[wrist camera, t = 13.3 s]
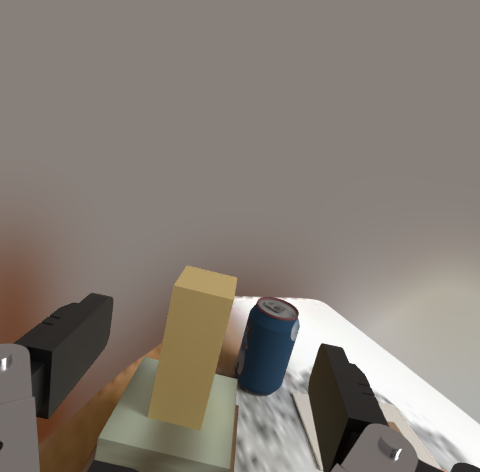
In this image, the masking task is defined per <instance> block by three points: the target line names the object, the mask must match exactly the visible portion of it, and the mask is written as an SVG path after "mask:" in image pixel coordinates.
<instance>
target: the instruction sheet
mask: <svg viewBox="0 0 480 472" xmlns="http://www.w3.org/2000/svg"><path fill="white" fill-rule="evenodd" d="M292 396H293V398H294V401H295V404H296V407H297V409H298V412H299V415H300V418H301V420H302V423H303V426H304V428H305V431H306V434H307V437H308V439H309V442H310V445H311V447H312V450H313V453H314V456H315V458H316V461H317V464H318V466H319V469H320V470H323V466H322V461H321V456H320V451H319V446H318V441H317V436H316V431H315V426H314V421H313V415H312V410H311V405H310V400H309V395H308V394H299V393H292ZM379 406H380V408H381V410H382V412H383V414H384V416H385V418H386V420H387V423H388V425H389V427H390V428H392V429H394V430H396V431H397V432H399V433H400V434H402V435H403V436H404V437H405V438H406V439H407V440H408V441H409V442H410V443H411V444H412V446H413V447H414V449H415V451H416V453H417V456H418V459H420V460H421V461H423V462H425V463H427V464H429V465H431V466H434V467H436V468H438V469H441V468H440V466H439V465H438V464H437V462H436V461H435V460H434V458H433V457H432V455H431V454H430V453H429V451H428V450H427V449H426V447H425V446H424V445H423V443H422V442H421V441H420V439H419V438H418V437H417V435H416V434H415V433H414V431H413V430H412V429H411V427H410V426H409V425H408V423H407V422H406V420H405V419H404V418H403V416H402V415H401V414H400V412H399V411H398V410H397V408H396V407H395V406H394V404H386V403H379Z"/></svg>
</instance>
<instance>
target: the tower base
mask: <svg viewBox="0 0 480 472" xmlns="http://www.w3.org/2000/svg"><path fill="white" fill-rule="evenodd" d="M158 362H159V360H155V359H151V358H147V357H144V358H143V360H142V361H141V363H140V365H139V367H138V368H137V370H136V372H135V374H134V375H133V377H132V379H131V381H130V382H129V384H128V386H127V388H126V390H125V391H124V393H123V395H122V397H121V398H120V400H119V402H118V404H117V405H116V407H115V409H114V411H113V412H112V414H111V416H110V418H109V420H108V421H107V423H106V425H105V427H104V428H103V430H102V432H101V434H100V435H99V437H98V442H97V445H96V446H95V448H94V450H93V452H92V454H91V455H90V457H89V459H88V461H87V462H86V464H85V466H84V468H83V470H82V471H81V472H87V471H88V469H89V467H90V465H91V463H92V462H93V460H98V461H102V462H107V463H111V464H116V465H120V466H125V467H129V468H133V469H135V470H137V471H139V472H234V461H235V448H236V434H237V421H238V407H239V406H238V405H235V403H236V392H237V380H238V379H234V378H230V377H226V376H222V375H218V374H215V376H214V380H213V384H212V387H211V391H210V395H209V399H208V403H207V407H206V411H205V415H204V419H203V423H202V427H201V431H200V430H196V429H192V428H188V427H184V426H180V425H175V424H171V423H167V422H163V421H159V420H155V419H151V418H147V417H148V412H149V407H150V402H151V397H152V392H153V387H154V382H155V377H156V372H157V367H158Z"/></svg>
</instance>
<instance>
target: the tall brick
mask: <svg viewBox="0 0 480 472" xmlns="http://www.w3.org/2000/svg"><path fill="white" fill-rule="evenodd" d="M236 282H237V278H236V277H232V276H228V275H224V274H220V273H216V272H212V271H208V270H203V269H199V268H195V267H191V266H186V268H185V269H184V271H183V273H182V274H181V275H180V277H179V279H178V280H177V281H176V283H175V285H174V288H173V293H172V298H171V302H170V308H169V312H168V317H167V322H166V327H165V332H164V337H163V342H162V347H161V352H160V357H159V362H158V367H157V372H156V377H155V382H154V387H153V392H152V397H151V402H150V407H149V412H148V417H147V418H151V419H155V420H159V421H163V422H167V423H171V424H175V425H180V426H184V427H188V428H192V429H196V430H200V431H201V427H202V423H203V419H204V415H205V411H206V407H207V403H208V399H209V395H210V391H211V387H212V384H213V380H214V376H215V372H216V368H217V364H218V360H219V356H220V352H221V348H222V344H223V340H224V336H225V332H226V328H227V324H228V320H229V316H230V312H231V308H232V305H233V301H234V294H235V288H236Z"/></svg>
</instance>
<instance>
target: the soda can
mask: <svg viewBox="0 0 480 472" xmlns="http://www.w3.org/2000/svg"><path fill="white" fill-rule="evenodd" d="M298 315H299V312H298V310H297V309H296V307H294V306H293V305H292V304H290V303H288V302H286V301H284V300H281V299H278V298H273V297H263V298H260V299H259V300H258V301H257V304H256V305H255V306H254V307H253V308H252V309H251V311H250V314H249V317H248V321H247V325H246V328H245V332H244V336H243V339H242V343H241V347H240V351H239V354H238V358H237V362H236V365H235V374H236V377H237V379H238V382H239V384H240V386H241V387H242V388H243V389H244V390H246V391H247V392H249V393H251V394H253V395H257V396H267V395H270V394H272V393H273V392H275V391H276V390H277V389H279V388H280V386H281V385H282V382H283V379H284V375H285V372H286V369H287V366H288V362H289V359H290V356H291V353H292V350H293V346H294V343H295V340H296V337H297V334H298V330H299V320H298Z"/></svg>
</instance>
